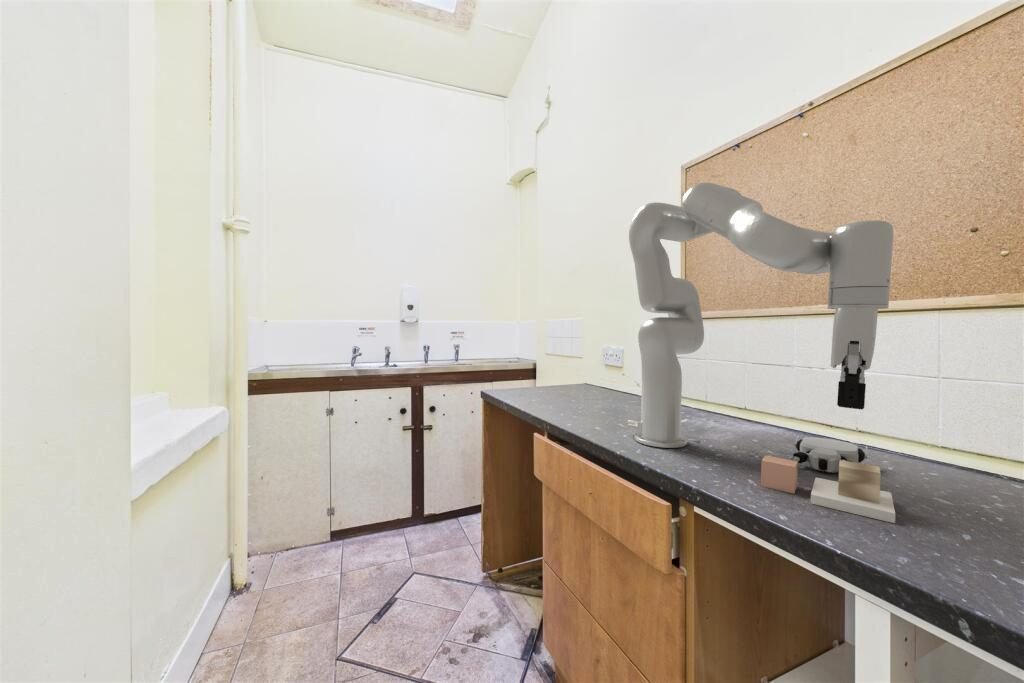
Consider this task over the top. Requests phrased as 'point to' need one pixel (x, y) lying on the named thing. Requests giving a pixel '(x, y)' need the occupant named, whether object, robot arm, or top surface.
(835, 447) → the robot toy
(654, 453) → the top surface
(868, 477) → the beech brick
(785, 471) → the clay brick
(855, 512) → the base plate
